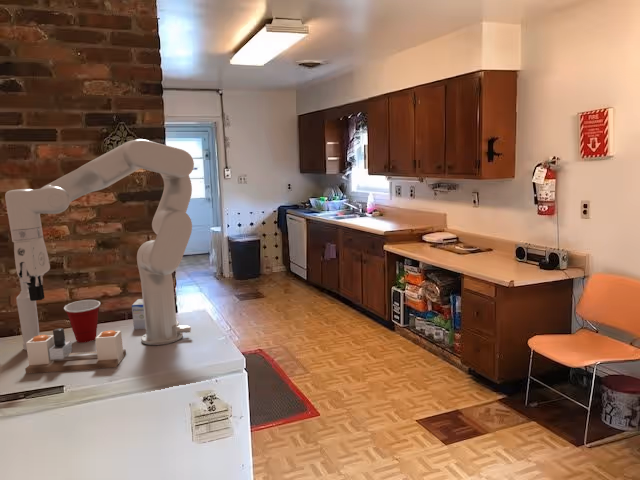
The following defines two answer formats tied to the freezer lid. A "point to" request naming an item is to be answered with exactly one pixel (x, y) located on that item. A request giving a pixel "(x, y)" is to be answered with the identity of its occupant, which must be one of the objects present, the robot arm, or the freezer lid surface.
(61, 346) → the carriage
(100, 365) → the rail board
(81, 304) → the plastic cup
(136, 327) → the medicine box
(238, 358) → the freezer lid surface
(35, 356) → the pair of ball holders
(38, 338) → the gauge button
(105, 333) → the ball
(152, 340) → the robot arm
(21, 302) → the bottle
